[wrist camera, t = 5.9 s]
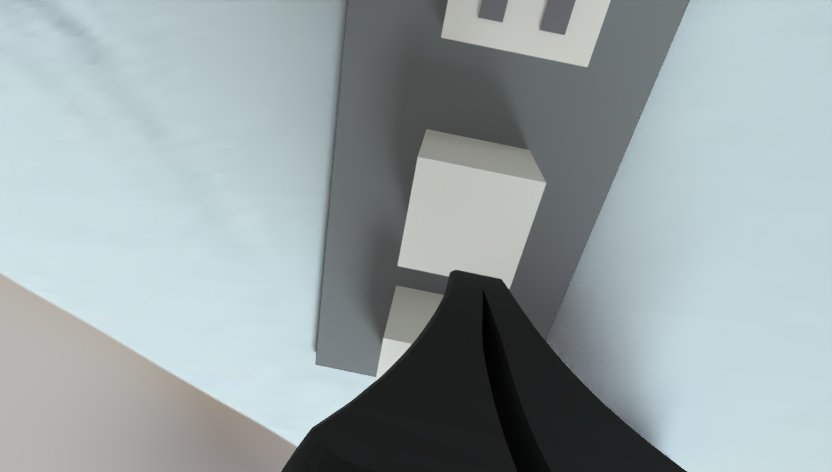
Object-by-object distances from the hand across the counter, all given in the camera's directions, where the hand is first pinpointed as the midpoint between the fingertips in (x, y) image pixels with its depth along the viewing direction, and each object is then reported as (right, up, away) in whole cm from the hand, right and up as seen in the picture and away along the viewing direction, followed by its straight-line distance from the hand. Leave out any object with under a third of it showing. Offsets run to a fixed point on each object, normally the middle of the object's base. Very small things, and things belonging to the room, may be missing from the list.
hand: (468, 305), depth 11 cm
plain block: (+1, +4, +8) cm, 9 cm away
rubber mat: (+1, +4, +8) cm, 9 cm away
